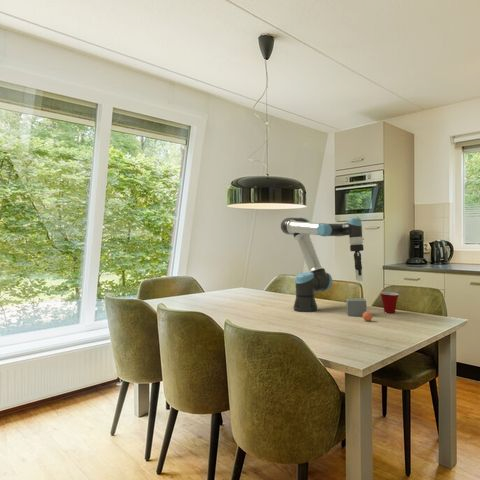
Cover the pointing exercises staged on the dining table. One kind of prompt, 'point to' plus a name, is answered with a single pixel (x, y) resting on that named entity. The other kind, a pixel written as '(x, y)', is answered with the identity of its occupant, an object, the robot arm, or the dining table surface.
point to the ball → (367, 316)
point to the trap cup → (356, 306)
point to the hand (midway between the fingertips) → (359, 280)
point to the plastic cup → (389, 301)
